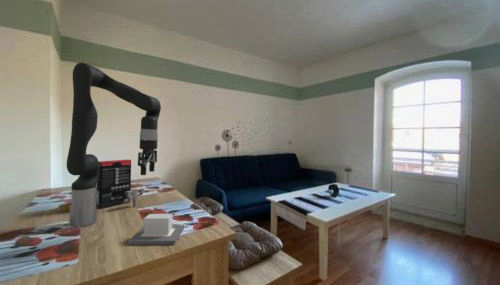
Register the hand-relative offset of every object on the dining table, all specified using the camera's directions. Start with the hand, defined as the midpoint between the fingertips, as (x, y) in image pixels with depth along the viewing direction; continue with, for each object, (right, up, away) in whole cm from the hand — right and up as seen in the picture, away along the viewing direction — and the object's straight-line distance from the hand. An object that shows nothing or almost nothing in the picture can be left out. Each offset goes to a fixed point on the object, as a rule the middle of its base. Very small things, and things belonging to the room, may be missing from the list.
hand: (147, 173), depth 96 cm
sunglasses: (-54, -24, +23) cm, 63 cm away
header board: (+9, -26, -9) cm, 29 cm away
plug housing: (+9, -24, -9) cm, 27 cm away
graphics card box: (-35, -24, +29) cm, 51 cm away
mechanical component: (-21, -24, +25) cm, 41 cm away
